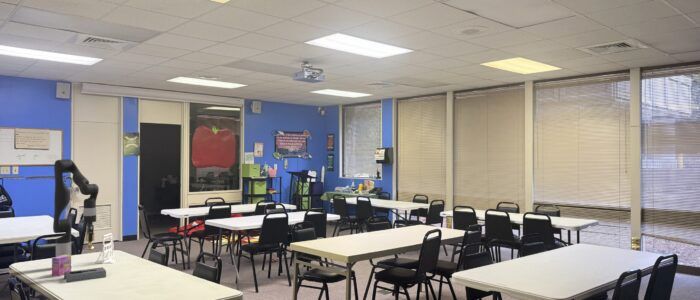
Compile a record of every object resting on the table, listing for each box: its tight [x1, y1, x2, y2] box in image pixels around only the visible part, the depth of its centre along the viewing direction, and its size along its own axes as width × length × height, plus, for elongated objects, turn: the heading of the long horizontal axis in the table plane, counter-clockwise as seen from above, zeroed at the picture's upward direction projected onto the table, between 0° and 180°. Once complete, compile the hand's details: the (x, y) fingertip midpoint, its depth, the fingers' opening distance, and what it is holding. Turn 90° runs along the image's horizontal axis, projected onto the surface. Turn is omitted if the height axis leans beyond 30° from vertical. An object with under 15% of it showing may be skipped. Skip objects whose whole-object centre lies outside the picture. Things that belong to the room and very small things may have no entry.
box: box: [51, 254, 72, 277], centre depth 317 cm, size 10×6×12 cm, turn 168°
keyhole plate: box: [63, 267, 107, 283], centre depth 307 cm, size 22×12×4 cm, turn 126°
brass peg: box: [85, 231, 95, 251], centre depth 317 cm, size 5×5×10 cm
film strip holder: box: [94, 232, 123, 265], centre depth 355 cm, size 14×14×20 cm
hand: (89, 240), depth 317 cm, fingers closed on brass peg, 4 cm apart
